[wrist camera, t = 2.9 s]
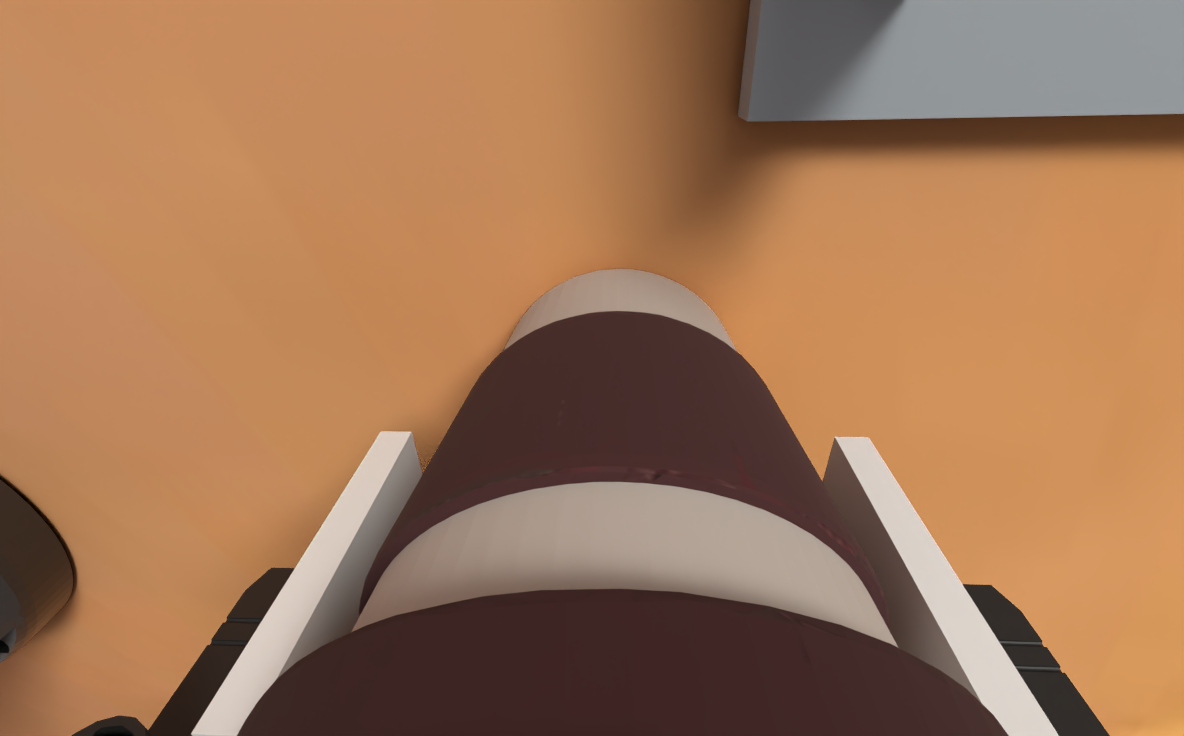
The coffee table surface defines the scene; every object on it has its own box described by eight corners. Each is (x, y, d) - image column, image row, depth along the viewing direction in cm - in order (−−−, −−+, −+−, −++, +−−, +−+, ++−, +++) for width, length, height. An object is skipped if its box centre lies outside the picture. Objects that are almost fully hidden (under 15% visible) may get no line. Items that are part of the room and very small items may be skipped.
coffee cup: (434, 422, 19) (50, 1196, 6) (532, 156, 14) (-301, 1185, 1) (677, 511, 21) (770, 1258, 8) (837, 302, 16) (1740, 1349, 3)
